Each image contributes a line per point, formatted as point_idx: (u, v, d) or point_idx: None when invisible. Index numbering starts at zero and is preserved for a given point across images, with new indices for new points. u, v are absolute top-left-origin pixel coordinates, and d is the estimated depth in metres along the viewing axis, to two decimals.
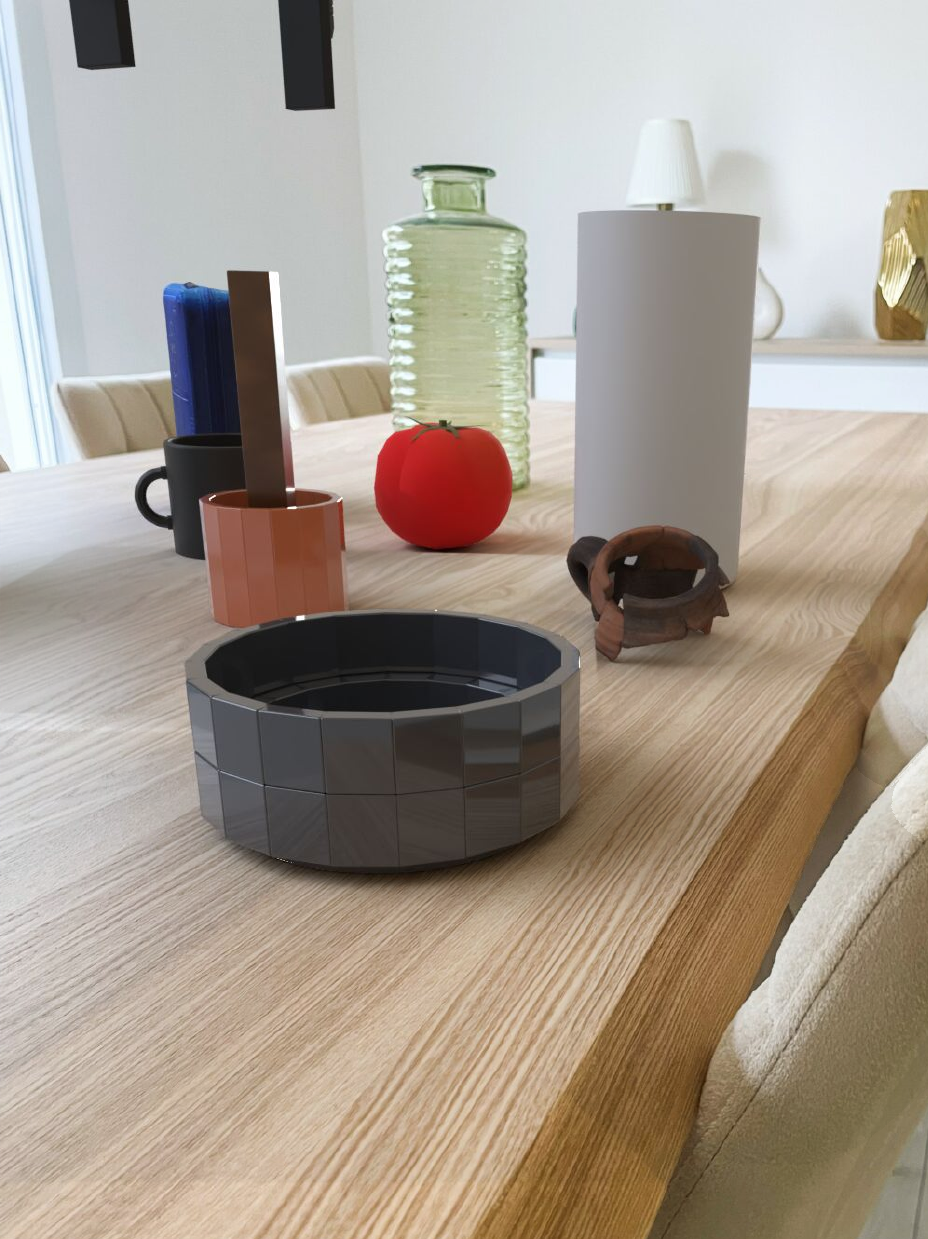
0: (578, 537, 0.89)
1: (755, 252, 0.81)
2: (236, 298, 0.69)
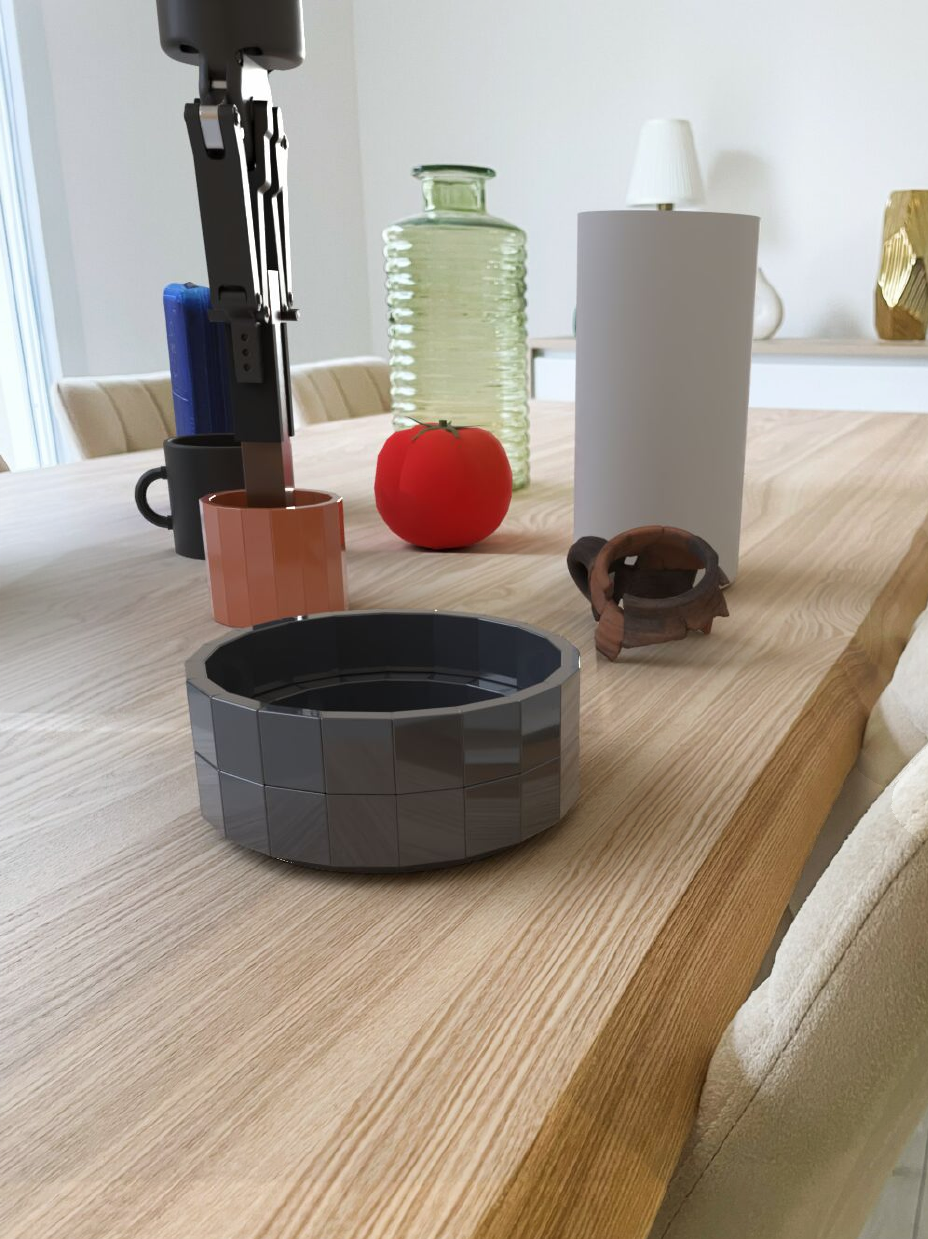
0: (578, 537, 0.89)
1: (755, 252, 0.81)
2: None
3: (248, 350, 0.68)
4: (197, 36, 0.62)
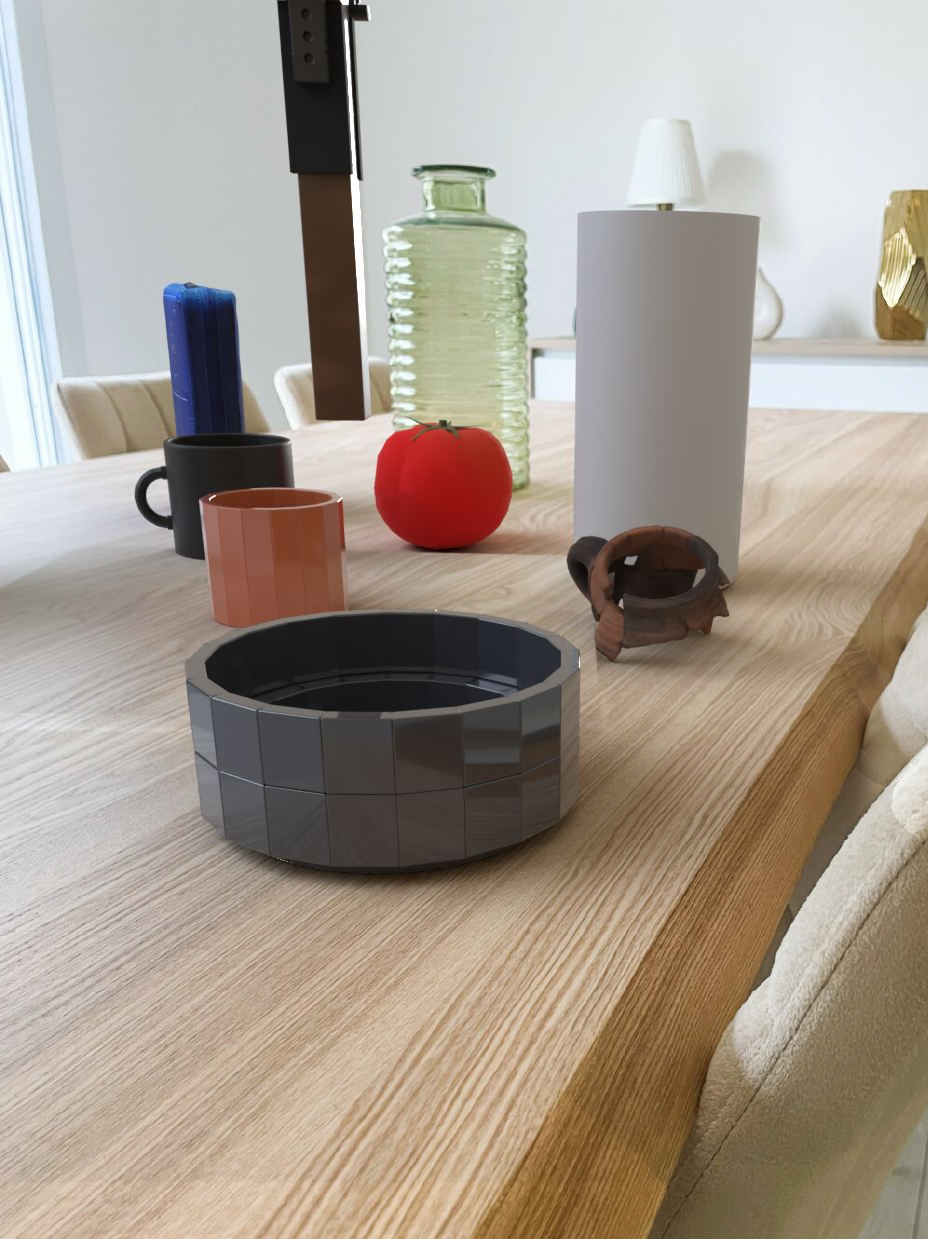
0: (578, 537, 0.89)
1: (755, 252, 0.81)
2: None
3: (310, 33, 0.51)
4: None
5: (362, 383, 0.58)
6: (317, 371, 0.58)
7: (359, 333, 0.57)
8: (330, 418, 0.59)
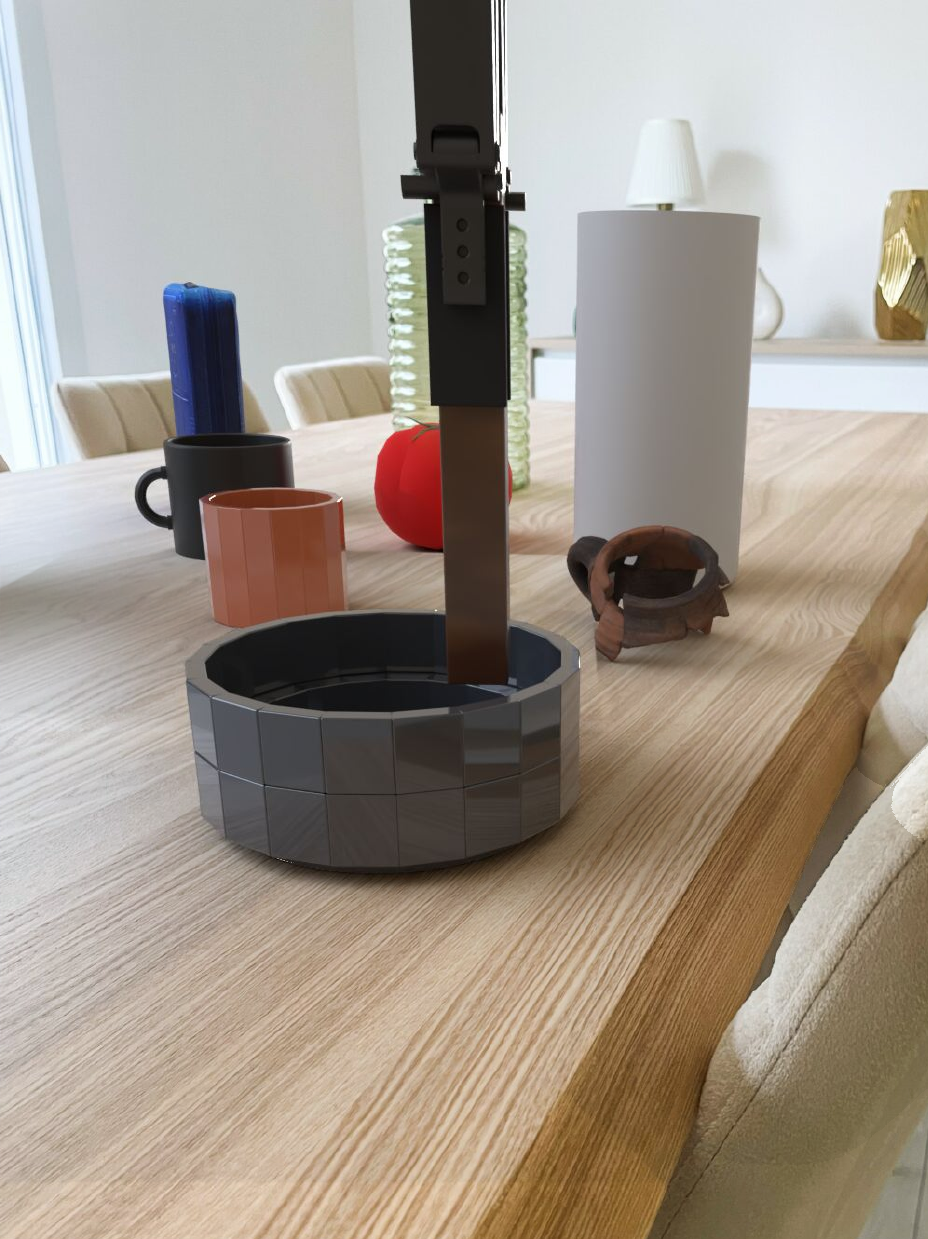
0: (578, 537, 0.89)
1: (755, 252, 0.81)
2: None
3: (466, 248, 0.40)
4: None
5: (506, 643, 0.47)
6: (452, 629, 0.47)
7: (506, 586, 0.47)
8: (466, 682, 0.48)
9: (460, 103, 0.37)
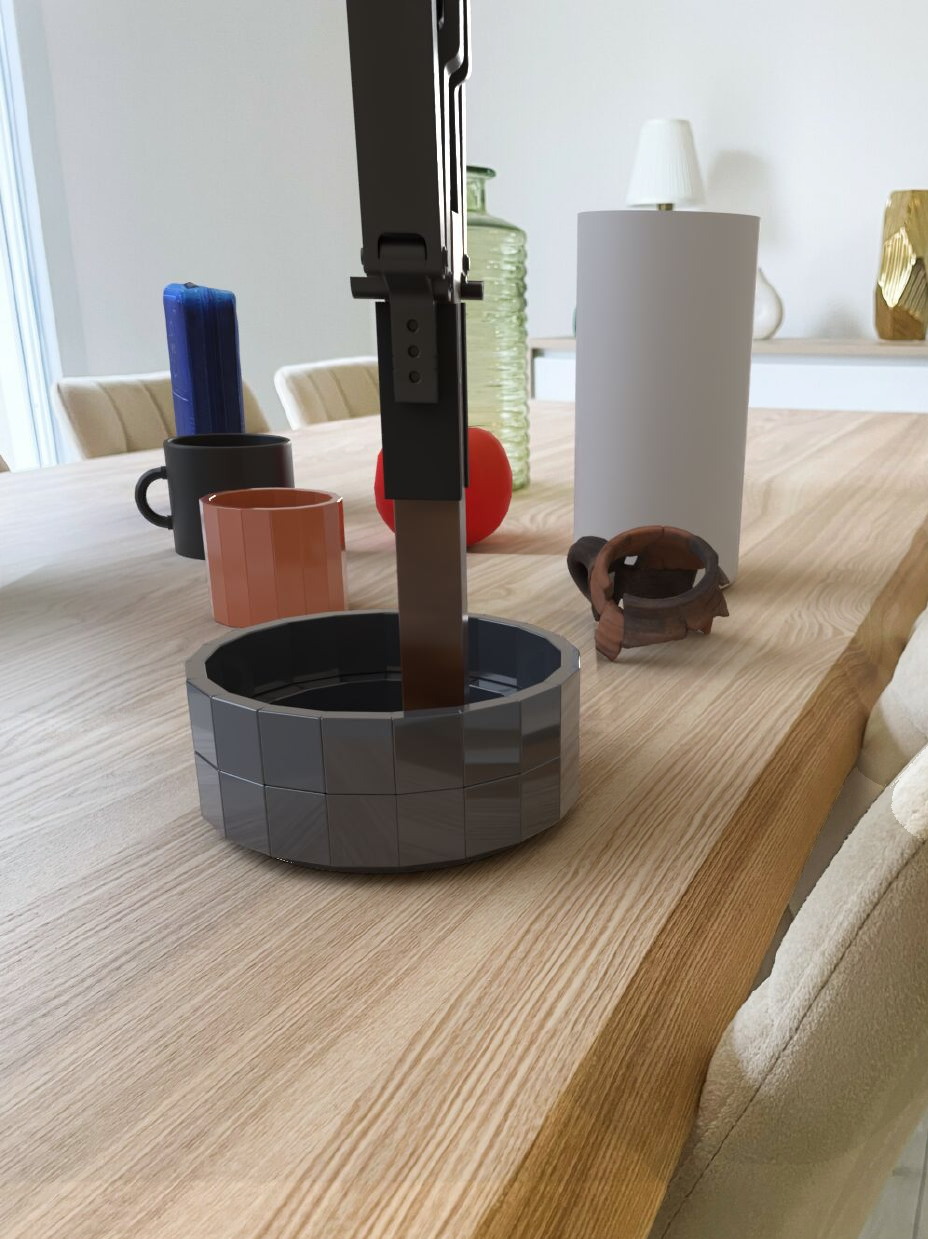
0: (578, 537, 0.89)
1: (755, 252, 0.81)
2: None
3: (417, 347, 0.40)
4: None
5: None
6: None
7: (463, 674, 0.46)
8: None
9: (406, 211, 0.37)
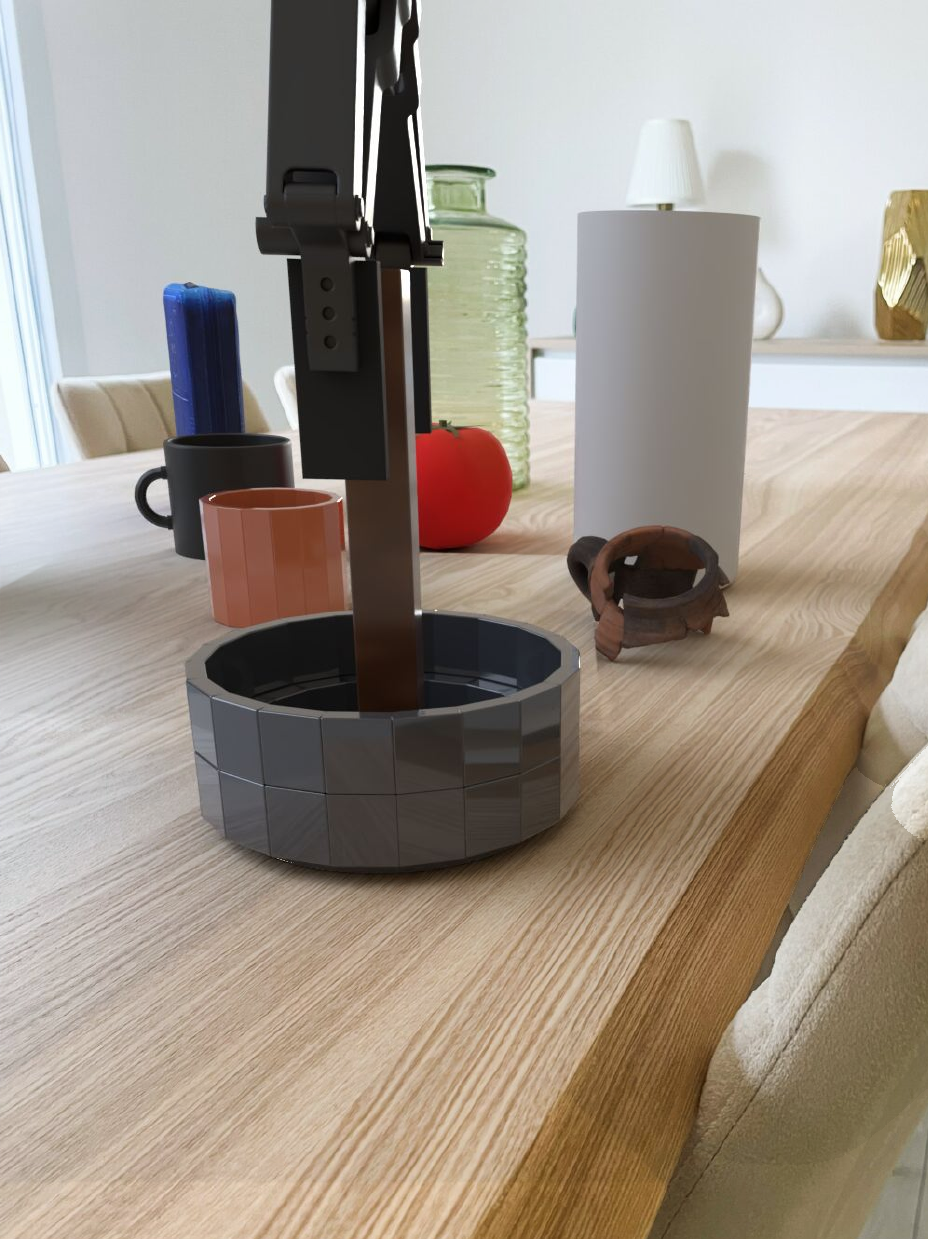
0: (578, 537, 0.89)
1: (755, 252, 0.81)
2: None
3: (333, 309, 0.36)
4: None
5: None
6: None
7: (417, 705, 0.48)
8: None
9: (318, 147, 0.33)
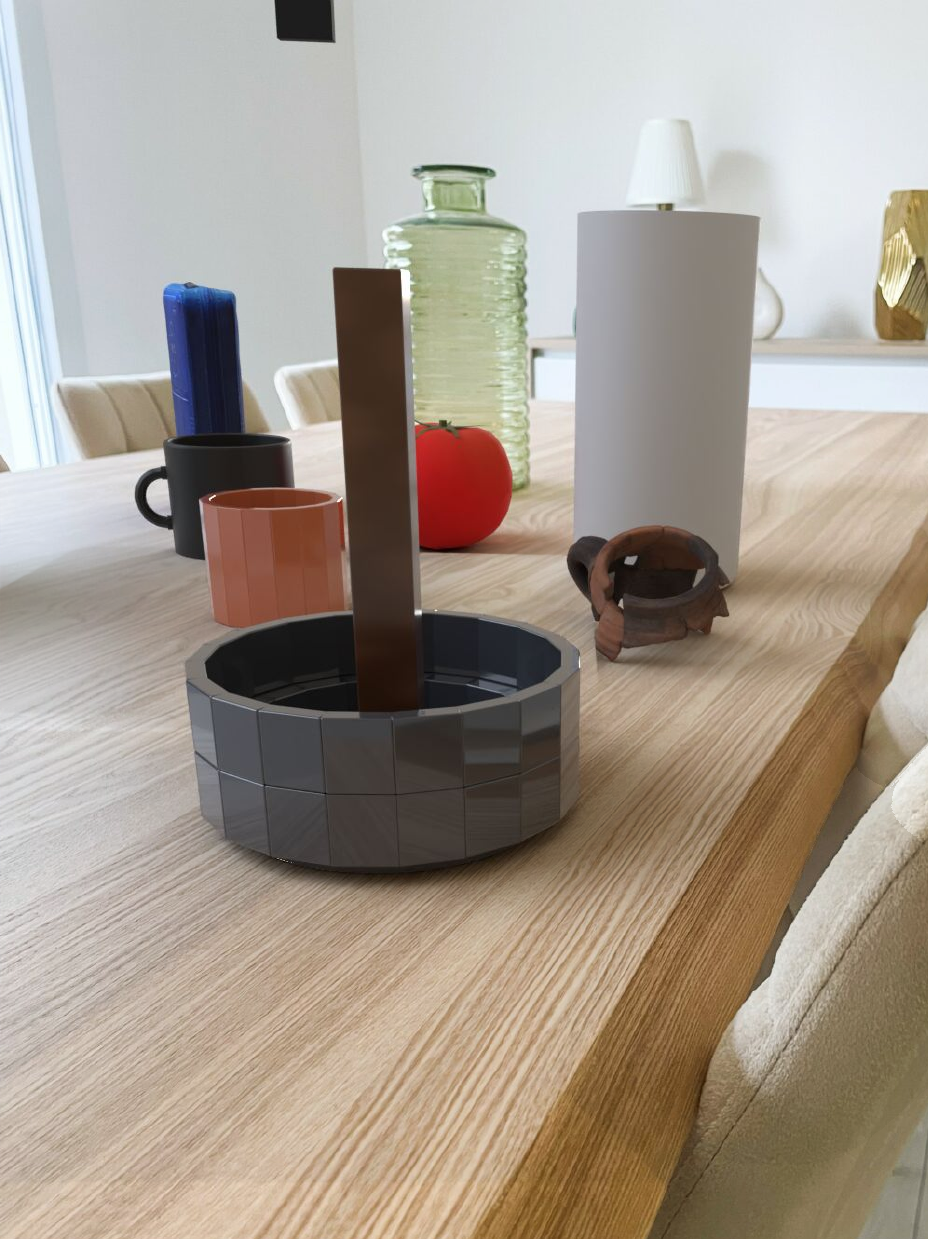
0: (578, 537, 0.89)
1: (755, 252, 0.81)
2: (347, 312, 0.43)
3: None
4: None
5: None
6: None
7: (417, 705, 0.48)
8: None
9: None
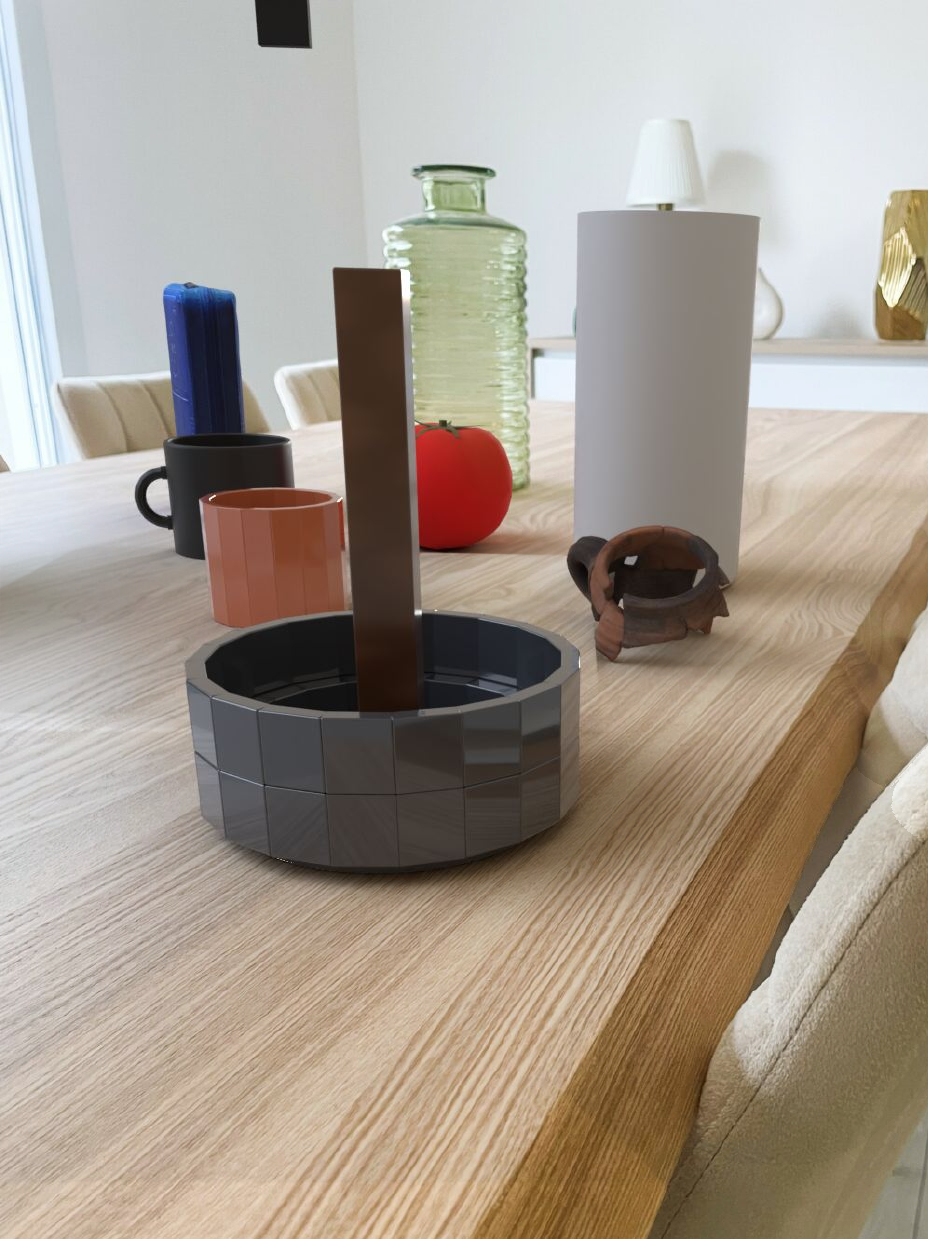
0: (578, 537, 0.89)
1: (755, 252, 0.81)
2: (347, 312, 0.43)
3: None
4: None
5: None
6: None
7: (417, 705, 0.48)
8: None
9: None
